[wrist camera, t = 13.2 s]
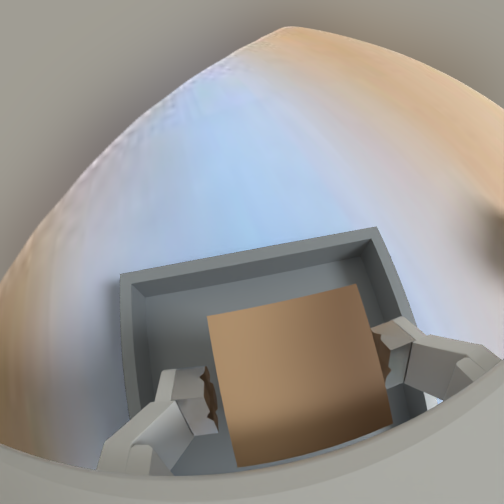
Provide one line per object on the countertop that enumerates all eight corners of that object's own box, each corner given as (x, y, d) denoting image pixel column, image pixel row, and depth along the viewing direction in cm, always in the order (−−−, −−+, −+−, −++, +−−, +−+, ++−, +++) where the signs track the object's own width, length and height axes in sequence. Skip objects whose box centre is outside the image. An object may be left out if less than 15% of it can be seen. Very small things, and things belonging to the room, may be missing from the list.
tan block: (251, 416, 14) (237, 467, 5) (238, 353, 16) (206, 316, 7) (318, 401, 14) (393, 423, 5) (303, 339, 16) (356, 283, 7)
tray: (168, 497, 11) (152, 512, 9) (137, 291, 19) (120, 274, 16) (419, 437, 13) (443, 441, 10) (363, 248, 20) (376, 226, 17)
